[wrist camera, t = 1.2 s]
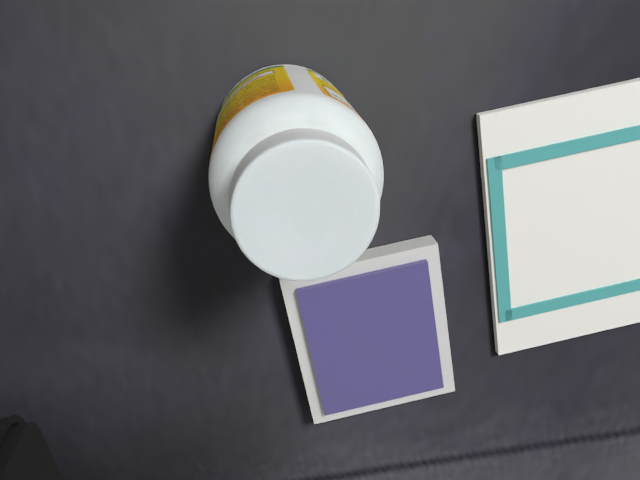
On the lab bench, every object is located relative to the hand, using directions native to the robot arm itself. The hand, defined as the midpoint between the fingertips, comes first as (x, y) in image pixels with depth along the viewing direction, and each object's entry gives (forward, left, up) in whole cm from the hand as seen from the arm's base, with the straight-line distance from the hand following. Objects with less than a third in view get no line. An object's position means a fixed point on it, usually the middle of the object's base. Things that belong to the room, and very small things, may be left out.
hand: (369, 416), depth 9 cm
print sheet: (+7, +17, -17) cm, 25 cm away
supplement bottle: (0, 0, -18) cm, 18 cm away
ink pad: (+10, +2, -17) cm, 20 cm away
